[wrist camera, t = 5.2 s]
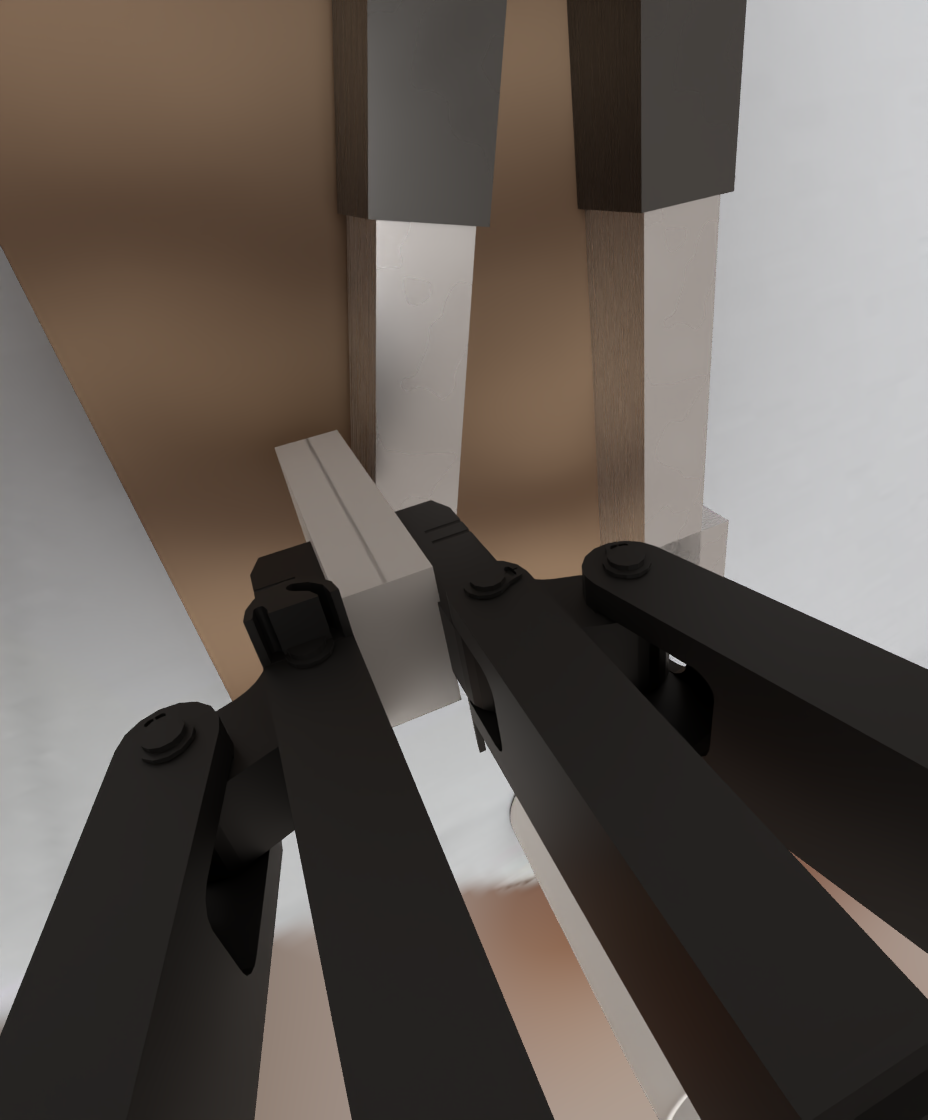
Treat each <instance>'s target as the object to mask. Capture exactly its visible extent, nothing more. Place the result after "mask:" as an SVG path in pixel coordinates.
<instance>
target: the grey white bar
mask: <svg viewBox="0 0 928 1120" xmlns="http://www.w3.org/2000/svg"><path fill="white" fill-rule="evenodd" d="M745 15H746V0H567V16H568V35H569V54H570V73H571V92H572V111H573V130H574V149H575V168H576V187H577V206H578V209H584V210H585V224H586V246H587V267H588V288H589V310H590V331H591V352H592V374H593V395H594V416H595V438H596V459H597V480H598V501H599V523H600V544H601V546H602V545H604V544H607V543H612V542H618V541H637V542H643V543H647V544H650V545H653V546H656V547H659V548H661V549H663V550H665V551H667V552H670V553H672V554H674V555H676V556H679V557H681V558H683V559H685V560H687V561H690V562H692V563H694V564H696V565H698V566H701V567H703V568H705V569H707V570H709V571H712V572H714V573H716V574H718V575H720V576H723V577H724V569H725V557H726V545H727V533H728V520H727V519H725V518H723V517H722V516H720V515H718V514H717V513H715V512H713V511H712V510H710V509H708V508H707V507H705V506H703V490H704V473H705V455H706V437H707V419H708V401H709V383H710V366H711V348H712V330H713V312H714V294H715V277H716V259H717V241H718V223H719V205H720V194H724V193H728V192H732V191H734V181H735V165H736V150H737V135H738V120H739V105H740V90H741V75H742V60H743V45H744V30H745Z"/></svg>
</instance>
